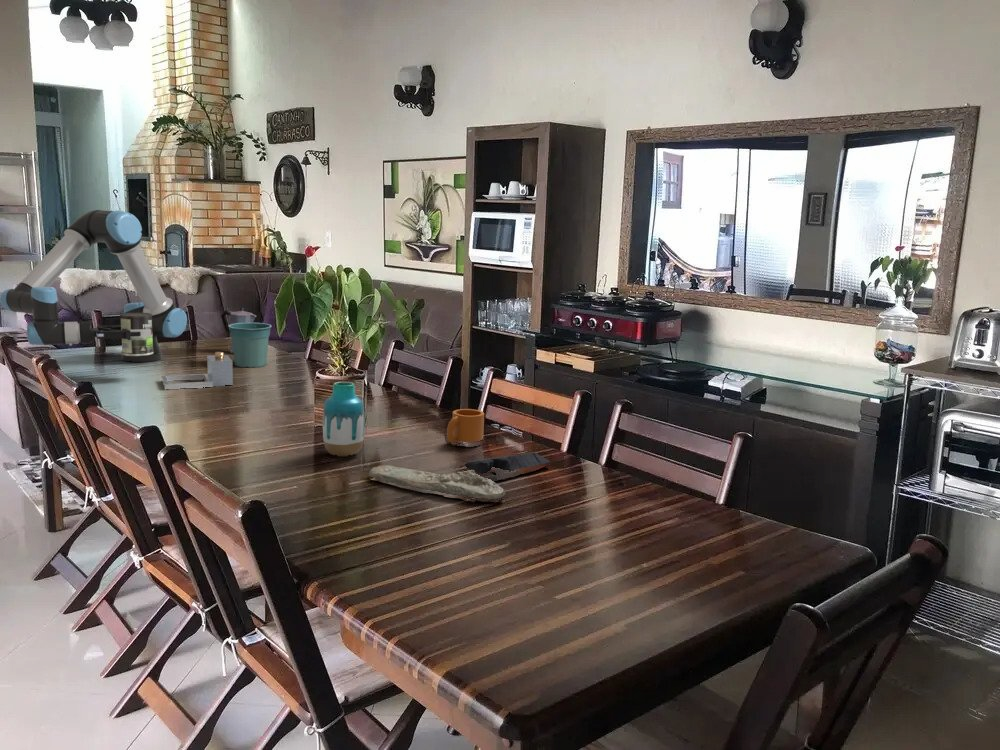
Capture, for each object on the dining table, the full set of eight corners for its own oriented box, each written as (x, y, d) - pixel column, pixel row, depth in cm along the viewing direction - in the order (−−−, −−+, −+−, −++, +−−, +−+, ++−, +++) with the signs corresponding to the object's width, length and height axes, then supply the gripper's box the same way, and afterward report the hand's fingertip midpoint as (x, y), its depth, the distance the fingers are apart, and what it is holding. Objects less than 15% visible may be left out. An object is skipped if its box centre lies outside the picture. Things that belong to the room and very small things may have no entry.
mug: (435, 443, 227) (436, 411, 225) (471, 438, 234) (472, 407, 232) (452, 450, 220) (453, 418, 218) (489, 445, 227) (490, 414, 225)
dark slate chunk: (558, 472, 206) (559, 454, 206) (487, 486, 194) (488, 467, 193) (522, 457, 219) (523, 440, 218) (453, 468, 206) (454, 450, 205)
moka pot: (253, 355, 346) (252, 309, 342) (217, 354, 346) (216, 307, 342) (260, 351, 355) (259, 306, 351) (225, 350, 355) (224, 305, 351)
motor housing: (161, 381, 289) (160, 350, 287) (227, 378, 299) (226, 348, 297) (165, 390, 276) (163, 358, 274) (233, 386, 286) (232, 355, 283)
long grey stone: (382, 477, 201) (360, 491, 192) (381, 457, 199) (359, 470, 191) (512, 494, 187) (495, 510, 178) (512, 472, 185) (494, 487, 177)
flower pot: (271, 369, 319) (271, 328, 316) (227, 369, 315) (226, 328, 312) (272, 361, 335) (272, 322, 332) (230, 361, 331) (230, 322, 328)
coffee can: (158, 351, 292) (156, 313, 289) (145, 356, 282) (143, 316, 279) (130, 350, 292) (128, 311, 289) (116, 355, 282) (114, 315, 279)
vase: (327, 462, 205) (327, 388, 201) (319, 451, 214) (319, 380, 211) (368, 459, 209) (369, 386, 205) (358, 448, 219) (359, 378, 215)
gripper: (80, 338, 288) (148, 336, 298) (79, 349, 268) (152, 346, 278) (79, 317, 287) (147, 316, 296) (78, 326, 267) (151, 325, 277)
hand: (149, 330), depth 287 cm, fingers closed on coffee can, 10 cm apart
